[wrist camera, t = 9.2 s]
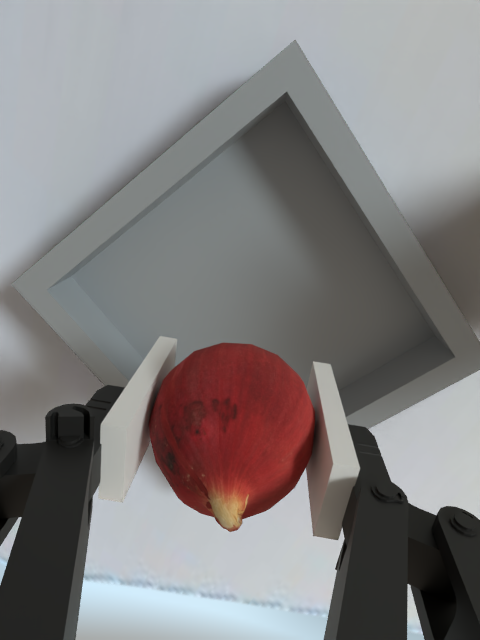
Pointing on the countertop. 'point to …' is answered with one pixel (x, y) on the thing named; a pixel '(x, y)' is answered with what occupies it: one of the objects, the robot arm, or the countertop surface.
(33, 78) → the countertop surface
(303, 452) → the onion
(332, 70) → the countertop surface
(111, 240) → the tray
